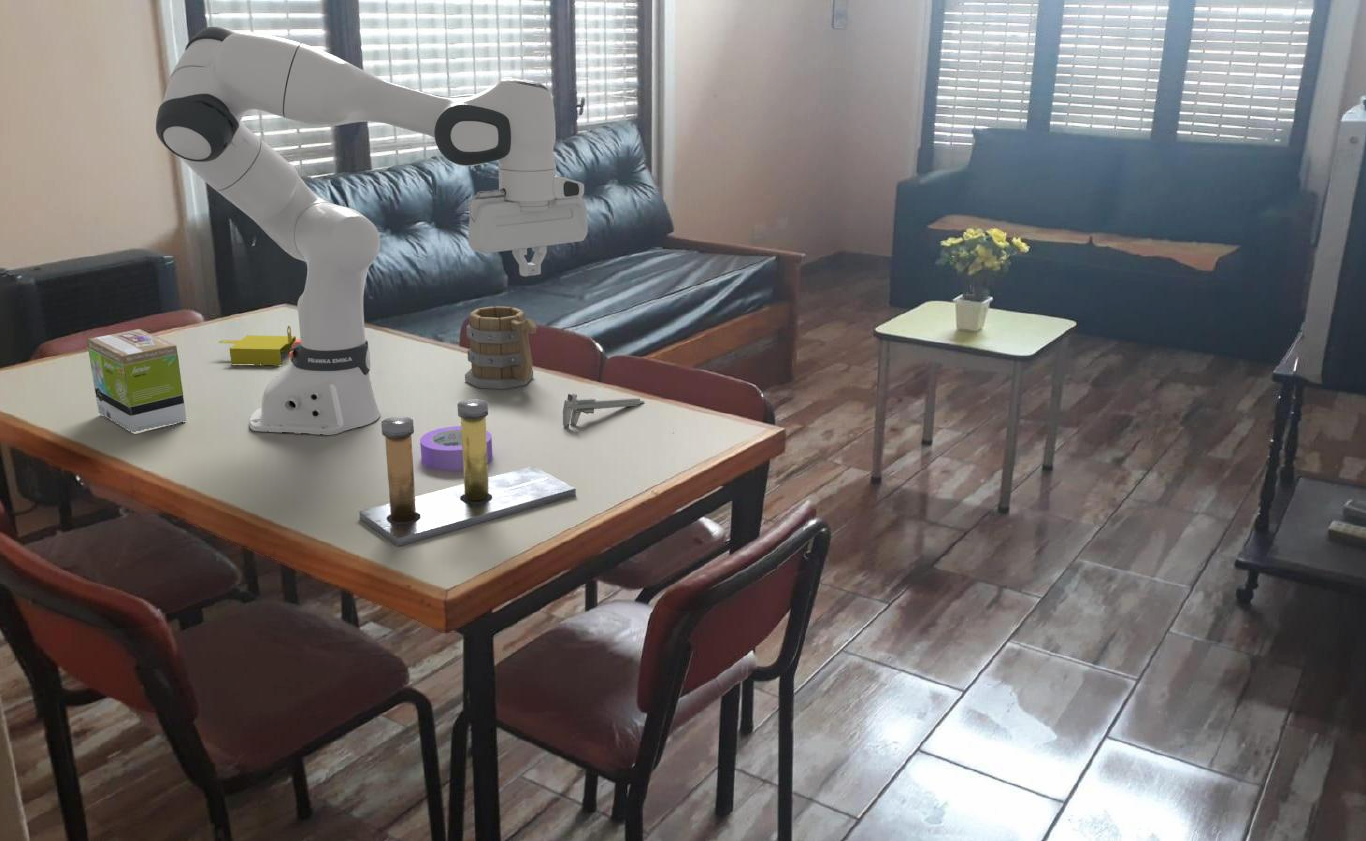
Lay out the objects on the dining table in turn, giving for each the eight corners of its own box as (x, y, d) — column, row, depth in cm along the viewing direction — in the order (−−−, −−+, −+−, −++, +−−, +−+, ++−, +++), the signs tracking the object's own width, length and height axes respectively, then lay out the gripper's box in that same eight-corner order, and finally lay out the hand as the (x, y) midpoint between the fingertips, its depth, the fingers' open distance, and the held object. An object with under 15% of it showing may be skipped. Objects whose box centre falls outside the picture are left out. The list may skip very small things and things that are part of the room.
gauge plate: (398, 546, 167) (397, 538, 167) (360, 518, 176) (359, 510, 175) (575, 495, 185) (575, 487, 185) (533, 472, 194) (532, 465, 194)
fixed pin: (396, 525, 170) (390, 429, 166) (382, 516, 174) (375, 420, 169) (424, 518, 173) (418, 422, 168) (410, 508, 176) (404, 414, 172)
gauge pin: (471, 503, 178) (467, 410, 173) (456, 494, 181) (451, 403, 176) (497, 496, 180) (493, 404, 176) (481, 488, 184) (478, 397, 179)
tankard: (456, 377, 243) (453, 305, 238) (511, 367, 250) (509, 297, 245) (504, 403, 228) (501, 326, 223) (561, 391, 235) (560, 317, 230)
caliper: (567, 430, 215) (566, 396, 212) (562, 428, 215) (562, 395, 213) (644, 404, 229) (644, 372, 227) (640, 402, 230) (640, 371, 228)
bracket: (230, 315, 258) (300, 316, 258) (234, 350, 261) (303, 351, 261) (202, 334, 244) (276, 335, 244) (207, 370, 246) (280, 372, 246)
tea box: (96, 416, 217) (84, 337, 212) (151, 403, 224) (140, 327, 219) (132, 436, 208) (121, 353, 203) (189, 422, 215) (178, 342, 210)
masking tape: (429, 475, 193) (428, 453, 191) (414, 451, 203) (413, 430, 202) (500, 466, 197) (499, 444, 196) (482, 443, 207) (481, 422, 206)
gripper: (479, 194, 177) (483, 287, 181) (592, 184, 189) (593, 270, 194) (458, 189, 181) (462, 279, 186) (569, 179, 194) (571, 264, 198)
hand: (530, 275), depth 190 cm, fingers closed
